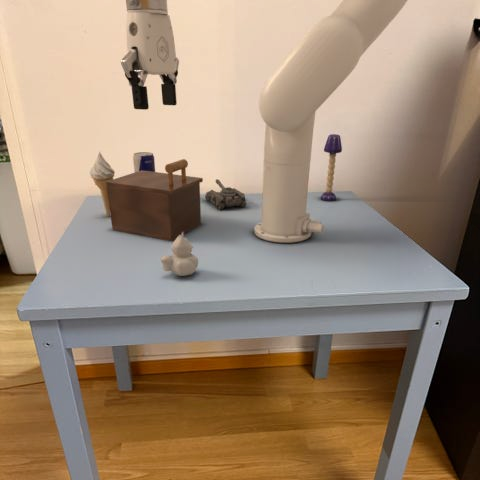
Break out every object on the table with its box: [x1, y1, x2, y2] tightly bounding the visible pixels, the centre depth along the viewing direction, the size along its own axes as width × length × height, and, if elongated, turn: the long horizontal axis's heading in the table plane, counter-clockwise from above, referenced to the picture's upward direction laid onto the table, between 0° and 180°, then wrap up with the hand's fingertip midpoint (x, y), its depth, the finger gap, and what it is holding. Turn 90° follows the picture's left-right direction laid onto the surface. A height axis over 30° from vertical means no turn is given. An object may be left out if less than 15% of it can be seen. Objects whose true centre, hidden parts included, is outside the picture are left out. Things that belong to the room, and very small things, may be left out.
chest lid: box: [106, 158, 204, 195], centre depth 97 cm, size 16×13×5 cm
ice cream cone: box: [89, 151, 116, 217], centre depth 106 cm, size 6×6×15 cm
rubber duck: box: [160, 232, 199, 277], centre depth 79 cm, size 5×7×8 cm
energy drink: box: [132, 151, 156, 173], centre depth 119 cm, size 5×5×12 cm
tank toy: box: [204, 179, 247, 211], centre depth 119 cm, size 12×10×5 cm
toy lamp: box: [320, 133, 343, 202], centre depth 121 cm, size 5×5×17 cm
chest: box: [107, 183, 202, 242], centre depth 101 cm, size 16×13×10 cm
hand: (156, 107), depth 92 cm, fingers open, 9 cm apart
